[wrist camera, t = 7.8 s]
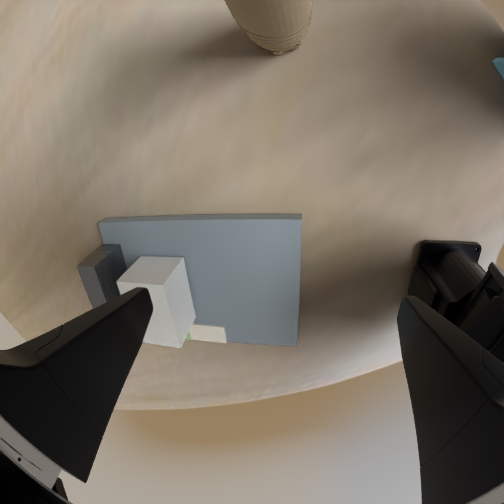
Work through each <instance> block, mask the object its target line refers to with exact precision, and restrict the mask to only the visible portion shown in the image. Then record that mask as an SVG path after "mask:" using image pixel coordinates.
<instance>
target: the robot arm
mask: <svg viewBox="0 0 504 504" xmlns="http://www.w3.org/2000/svg"><path fill="white" fill-rule="evenodd" d="M426 246H428V248H427V249H425V247H426ZM476 248H477V249H476ZM475 249H476V250H475ZM480 253H481V245H480V244H479V243H476V242H453V241H424V242H422V244H421V246H420V251H419V256H418V260H417V265H416V266H415V267H414V270H413V274H412V278H411V282H410V286H409V290H408V293H409V296H404V297H403V299H402V301H401V305H400V308H399V312H398V315H397V324H398V331H399V338H400V345H401V353H402V359H403V364H404V369H405V373H406V378H407V382H408V387H409V392H410V398H411V403H412V409H413V414H414V421H415V428H416V435H417V442H418V451H419V460H420V467H421V468H420V475H421V491H422V504H504V271H503V270H502V269H501V268H499V267H498V266H497V265H496V264H494V263H493V262H491V263H490V265H489V267H488V271H487V272H485V271H484V269H483V268H482V267H481V266H480V265H479V264H478V260H479V256H480ZM152 313H153V303H152V300H151V297H150V293H149V290H148V289H147V288H145V287H136V288H134V289H132V290H130V291H128V292H126V293H124V294H122V295H120V296H118V297H116V298H114V299H112V300H110V301H108V302H106V303H104V304H102V305H100V306H98V307H96V308H94V309H92V310H90V311H88V312H86V313H84V314H82V315H80V316H78V317H76V318H74V319H72V320H70V321H69V322H67V323H65V324H64V325H61V326H59V327H57V328H55V329H53V330H51V331H49V332H47V333H45V334H43V335H41V336H38V337H36V338H34V339H32V340H29V341H27V342H25V343H23V344H21V345H18V346H16V347H14V348H11V349H8V350H0V504H72V503H71V502H69V501H68V498H67V496H66V492H65V490H64V486H63V483H62V480H61V479H60V478H58V476H59V474H60V472H61V470H64V471H65V472H67V473H69V474H70V475H72V476H73V477H75V478H77V479H79V480H81V481H82V482H84V483H86V482H87V480H88V477H89V474H90V471H91V468H92V465H93V462H94V460H95V457H96V454H97V451H98V449H99V446H100V443H101V440H102V438H103V437H102V436H103V435H104V432H105V430H106V427H107V425H108V422H109V419H110V417H111V414H112V412H113V409H114V407H115V405H116V402H117V400H118V397H119V395H120V393H121V390H122V388H123V385H124V383H125V381H126V379H127V376H128V374H129V372H130V369H131V367H132V365H133V363H134V360H135V358H136V356H137V354H138V352H139V349H140V347H141V345H142V342H143V339H144V336H145V333H146V330H147V327H148V325H149V322H150V319H151V316H152Z"/></svg>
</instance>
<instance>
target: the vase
mask: <svg viewBox="0 0 504 504" xmlns="http://www.w3.org/2000/svg"><path fill="white" fill-rule="evenodd" d="M492 62H493V64H494V65H495V67H496V69H497V70H498V72H499V73H500V75H501V77H502V78H503V80H504V58H497V57H496V58H495V59H494V60H493V61H492Z"/></svg>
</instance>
